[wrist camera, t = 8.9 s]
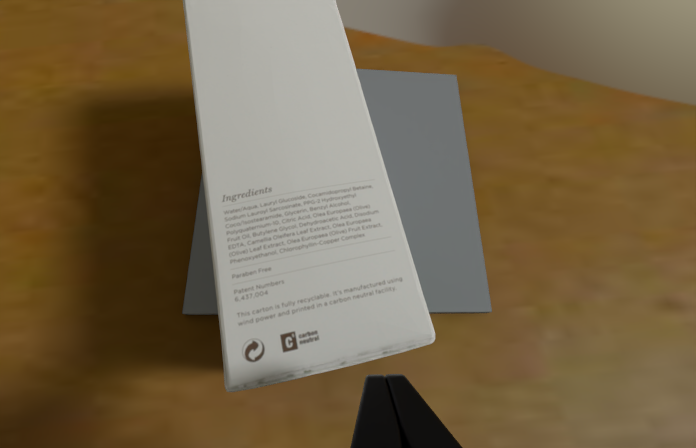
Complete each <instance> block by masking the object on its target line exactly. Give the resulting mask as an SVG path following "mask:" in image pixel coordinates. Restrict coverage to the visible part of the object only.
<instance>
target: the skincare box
mask: <svg viewBox="0 0 696 448" xmlns="http://www.w3.org/2000/svg"><path fill="white" fill-rule="evenodd" d="M183 6H184V13H185V23H186V31H187V40H188V49H189V57H190V66H191V75H192V84H193V93H194V101H195V110H196V119H197V128H198V137H199V146H200V154H201V163H202V172H203V181H204V190H205V199H206V207H207V216H208V225H209V234H210V243H211V252H212V261H213V270H214V279H215V288H216V297H217V306H218V316H219V325H220V334H221V344H222V355H223V366H224V381H225V389H226V391H227V392H235V391H241V390H247V389H253V388H258V387H263V386H267V385H272V384H276V383H281V382H285V381H290V380H294V379H298V378H302V377H306V376H309V375H313V374H318V373H323V372H327V371H331V370H335V369H339V368H343V367H347V366H352V365H356V364H360V363H364V362H367V361H371V360H375V359H379V358H383V357H386V356H390V355H394V354H398V353H402V352H405V351H408V350H412V349H415V348H418V347H422V346H425V345H429V344H431V343H433V342H434V340H435V331H434V328H433V325H432V322H431V318H430V315H429V312H428V308H427V305H426V302H425V299H424V296H423V292H422V289H421V285H420V282H419V279H418V275H417V272H416V268H415V265H414V262H413V259H412V255H411V252H410V249H409V245H408V242H407V239H406V235H405V232H404V229H403V225H402V222H401V218H400V215H399V211H398V208H397V205H396V202H395V198H394V195H393V192H392V189H391V186H390V182H389V179H388V175H387V172H386V168H385V165H384V162H383V158H382V155H381V152H380V148H379V145H378V142H377V138H376V134H375V131H374V128H373V125H372V122H371V118H370V115H369V111H368V108H367V105H366V101H365V98H364V95H363V91H362V88H361V84H360V81H359V78H358V74H357V71H356V67H355V64H354V61H353V57H352V54H351V51H350V47H349V44H348V40H347V37H346V34H345V31H344V27H343V24H342V20H341V17H340V14H339V11H338V8H337V4H336V0H183Z"/></svg>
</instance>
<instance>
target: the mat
mask: <svg viewBox="0 0 696 448" xmlns="http://www.w3.org/2000/svg"><path fill="white" fill-rule="evenodd" d="M356 71H357V74H358V78H359V81H360V84H361V88H362V91H363V95H364V98H365V101H366V105H367V108H368V111H369V115H370V118H371V122H372V125H373V128H374V131H375V134H376V138H377V142H378V145H379V148H380V152H381V155H382V158H383V162H384V165H385V168H386V172H387V175H388V179H389V182H390V186H391V189H392V192H393V195H394V198H395V202H396V205H397V208H398V211H399V215H400V218H401V222H402V225H403V229H404V232H405V235H406V239H407V242H408V245H409V249H410V252H411V255H412V259H413V262H414V265H415V268H416V272H417V275H418V279H419V282H420V285H421V289H422V292H423V296H424V299H425V302H426V305H427V308H428V312H429V313H489V312H492V309H491V302H490V296H489V289H488V283H487V276H486V269H485V263H484V256H483V250H482V243H481V236H480V230H479V223H478V216H477V210H476V203H475V197H474V190H473V183H472V177H471V170H470V164H469V157H468V150H467V144H466V137H465V131H464V124H463V117H462V111H461V104H460V97H459V91H458V84H457V78H456V75H446V74H430V73H415V72H399V71H383V70H367V69H356ZM182 314H185V315H218V306H217V297H216V288H215V279H214V270H213V261H212V252H211V243H210V234H209V225H208V216H207V207H206V199H205V190H204V181H203V172H202V177H201V184H200V191H199V198H198V205H197V212H196V220H195V227H194V234H193V241H192V248H191V255H190V262H189V269H188V276H187V283H186V291H185V298H184V305H183V312H182Z"/></svg>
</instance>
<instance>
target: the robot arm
mask: <svg viewBox="0 0 696 448" xmlns="http://www.w3.org/2000/svg"><path fill="white" fill-rule="evenodd" d="M351 448H462V447H461V445H460V444H459V443H458V442H457V440H456V439H455V438H454V437H453V435H452V434H451V433H450V432H449V431H448V429H447V428H446V427H445V426H444V424H443V423H442V422H441V421H440V419H439V418H438V417H437V416H436V414H435V413H434V412H433V411H432V409H431V408H430V407H429V406H428V404H427V403H426V402H425V401H424V399H423V398H422V397H421V396H420V395H419V393H418V392H417V391H416V390H415V388H414V387H413V386H412V385H411V383H410V382H409V381H408V380H407V378H406V377H405V376H404V375H402V374H388V375H386V376H385V377H384V376H383V375H367V376H366V379H365V383H364V388H363V392H362V397H361V402H360V406H359V411H358V416H357V420H356V425H355V429H354V434H353V439H352V443H351Z"/></svg>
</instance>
